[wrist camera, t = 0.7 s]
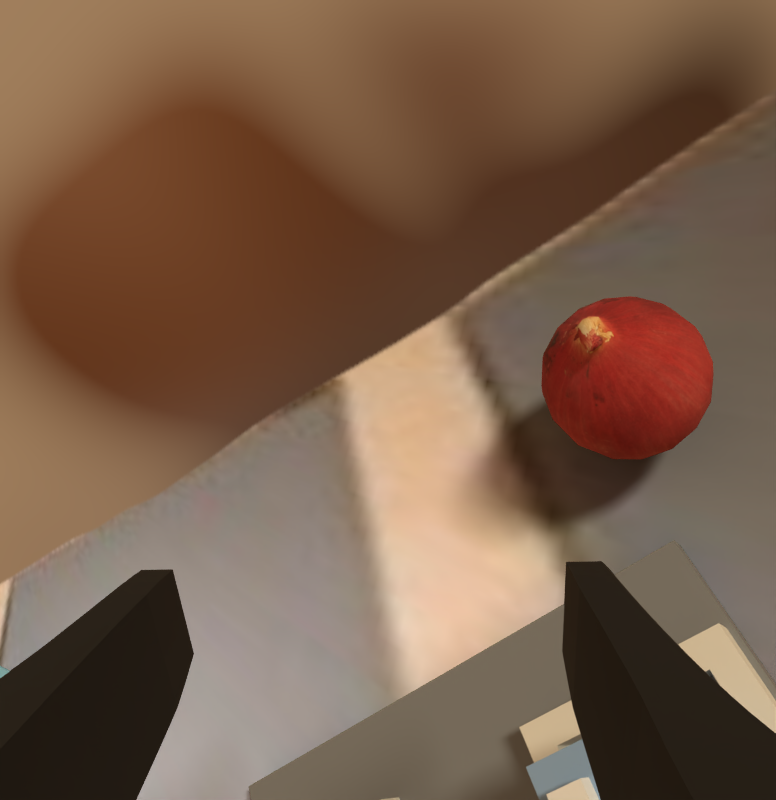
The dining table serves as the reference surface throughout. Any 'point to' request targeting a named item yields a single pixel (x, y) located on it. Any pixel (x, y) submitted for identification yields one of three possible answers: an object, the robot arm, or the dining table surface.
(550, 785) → the plug
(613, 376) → the red pomegranate
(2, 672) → the teapot
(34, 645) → the dining table surface
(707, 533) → the dining table surface
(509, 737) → the panel
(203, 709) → the dining table surface
